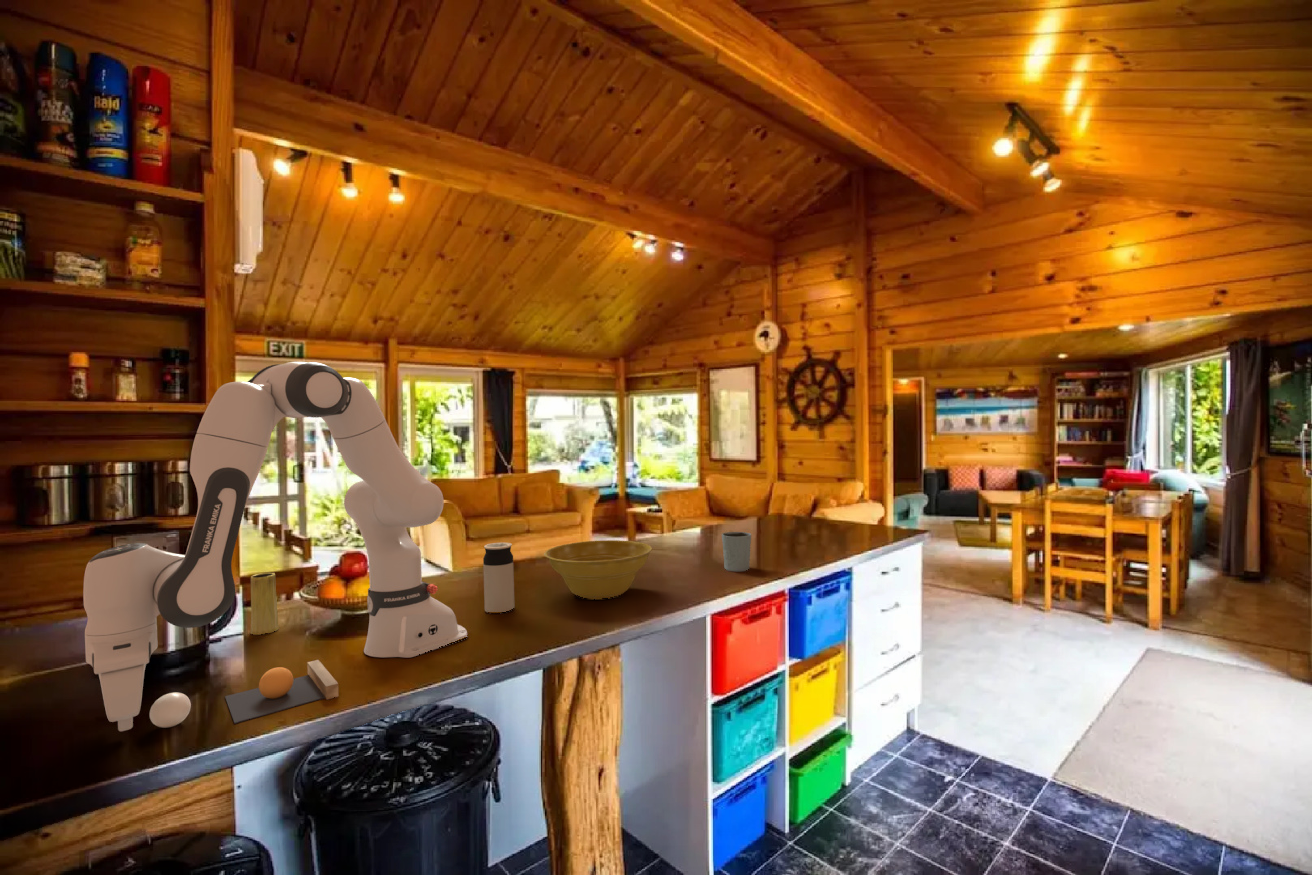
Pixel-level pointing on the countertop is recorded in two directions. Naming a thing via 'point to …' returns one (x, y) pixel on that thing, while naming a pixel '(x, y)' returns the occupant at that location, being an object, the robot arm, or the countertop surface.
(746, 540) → the grey cup
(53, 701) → the countertop surface
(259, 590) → the vase
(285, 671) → the orange egg
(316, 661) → the pine strip
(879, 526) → the countertop surface
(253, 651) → the countertop surface
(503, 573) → the travel mug
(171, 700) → the white egg
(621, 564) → the planter bowl
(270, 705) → the dark gray mat
